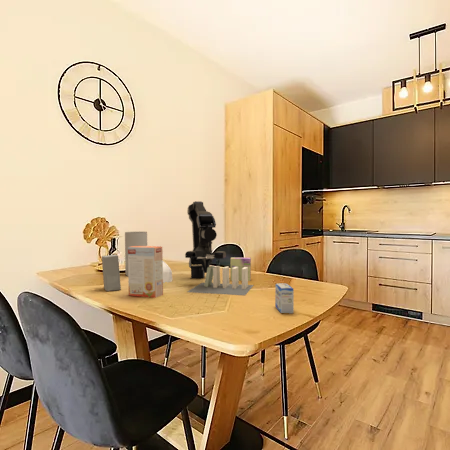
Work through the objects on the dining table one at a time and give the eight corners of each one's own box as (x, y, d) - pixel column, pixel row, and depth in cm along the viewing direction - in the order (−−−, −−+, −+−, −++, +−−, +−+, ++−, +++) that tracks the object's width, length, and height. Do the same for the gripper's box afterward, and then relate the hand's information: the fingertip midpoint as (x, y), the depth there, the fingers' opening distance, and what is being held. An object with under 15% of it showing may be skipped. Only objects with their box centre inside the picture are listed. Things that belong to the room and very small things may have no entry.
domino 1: (204, 286, 142) (207, 267, 141) (208, 283, 147) (211, 265, 147) (207, 287, 141) (210, 268, 140) (211, 284, 147) (214, 266, 146)
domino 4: (232, 288, 138) (231, 268, 138) (235, 285, 144) (235, 266, 144) (235, 288, 138) (235, 268, 137) (238, 285, 143) (238, 266, 143)
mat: (186, 293, 132) (186, 291, 132) (202, 283, 151) (202, 282, 151) (245, 296, 125) (245, 295, 125) (253, 286, 144) (253, 285, 144)
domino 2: (213, 287, 140) (213, 268, 140) (216, 284, 146) (216, 266, 146) (216, 287, 140) (216, 268, 140) (220, 284, 146) (219, 266, 146)
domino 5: (241, 288, 137) (241, 268, 137) (244, 286, 143) (244, 266, 142) (245, 289, 136) (245, 269, 136) (248, 286, 142) (247, 267, 142)
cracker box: (163, 295, 128) (163, 246, 128) (154, 299, 123) (154, 247, 122) (137, 292, 134) (137, 245, 134) (128, 295, 129) (127, 246, 128)
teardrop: (153, 284, 152) (153, 260, 152) (149, 280, 162) (149, 257, 162) (175, 281, 157) (174, 258, 156) (169, 278, 167) (169, 256, 167)
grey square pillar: (144, 276, 172) (143, 232, 171) (122, 276, 172) (121, 232, 172) (150, 272, 184) (149, 231, 184) (129, 272, 185) (128, 231, 184)
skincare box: (121, 290, 139) (120, 255, 139) (104, 292, 136) (103, 256, 135) (117, 286, 147) (117, 253, 146) (101, 288, 143) (101, 254, 143)
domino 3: (222, 287, 139) (222, 268, 139) (226, 285, 145) (225, 266, 145) (226, 288, 139) (225, 268, 139) (229, 285, 144) (229, 266, 144)
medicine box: (275, 307, 110) (274, 283, 110) (287, 306, 110) (287, 282, 110) (280, 314, 102) (280, 288, 102) (294, 313, 102) (293, 287, 102)
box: (250, 279, 161) (250, 257, 160) (250, 281, 155) (250, 258, 155) (231, 279, 162) (231, 257, 162) (230, 281, 156) (230, 258, 156)
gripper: (180, 240, 139) (180, 275, 139) (219, 241, 134) (219, 276, 134) (189, 239, 150) (190, 271, 150) (226, 239, 144) (226, 272, 145)
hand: (205, 272), depth 144 cm, fingers closed
